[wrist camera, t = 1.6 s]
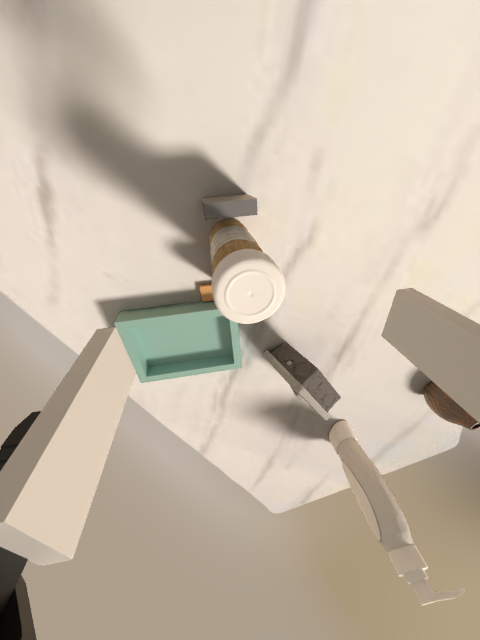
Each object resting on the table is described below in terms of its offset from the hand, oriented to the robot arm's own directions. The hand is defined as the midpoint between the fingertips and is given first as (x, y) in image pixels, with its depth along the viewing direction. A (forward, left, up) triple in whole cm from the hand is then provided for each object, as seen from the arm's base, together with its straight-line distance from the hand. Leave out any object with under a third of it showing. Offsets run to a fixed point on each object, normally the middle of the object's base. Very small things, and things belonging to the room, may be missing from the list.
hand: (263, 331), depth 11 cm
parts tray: (+12, -7, -17) cm, 22 cm away
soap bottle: (+44, +22, -17) cm, 52 cm away
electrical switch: (+19, +8, -17) cm, 27 cm away
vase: (+33, +39, -17) cm, 54 cm away
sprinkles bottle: (0, 0, -17) cm, 17 cm away
